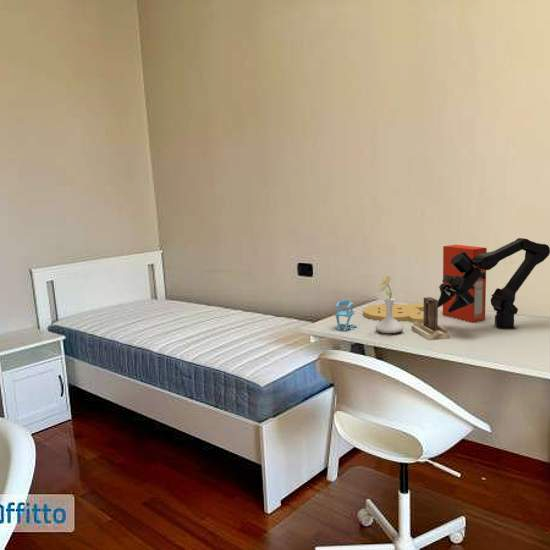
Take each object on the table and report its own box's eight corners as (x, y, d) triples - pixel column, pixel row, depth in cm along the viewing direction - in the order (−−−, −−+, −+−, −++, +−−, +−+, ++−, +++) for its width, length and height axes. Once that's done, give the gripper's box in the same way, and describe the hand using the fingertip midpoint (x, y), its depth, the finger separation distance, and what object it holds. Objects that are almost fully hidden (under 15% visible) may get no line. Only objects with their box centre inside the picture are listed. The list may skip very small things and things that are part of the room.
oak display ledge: (431, 328, 221) (431, 320, 220) (450, 337, 206) (450, 329, 206) (411, 330, 219) (411, 322, 219) (428, 340, 205) (428, 331, 204)
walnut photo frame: (430, 327, 216) (430, 297, 213) (437, 330, 210) (437, 300, 208) (423, 327, 215) (423, 297, 213) (430, 331, 209) (430, 300, 207)
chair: (332, 330, 224) (332, 303, 221) (339, 325, 231) (339, 298, 229) (350, 332, 220) (349, 304, 218) (356, 327, 227) (356, 300, 225)
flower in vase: (376, 327, 225) (376, 269, 221) (403, 328, 222) (404, 270, 218) (373, 336, 213) (373, 275, 209) (402, 337, 210) (402, 275, 206)
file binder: (471, 323, 227) (473, 249, 221) (442, 315, 242) (443, 245, 237) (485, 320, 230) (487, 247, 225) (455, 312, 245) (456, 244, 240)
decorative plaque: (361, 324, 234) (431, 325, 228) (361, 318, 233) (431, 319, 227) (364, 307, 264) (426, 308, 258) (364, 302, 263) (426, 303, 257)
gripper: (443, 264, 219) (418, 292, 219) (468, 270, 201) (441, 301, 201) (460, 281, 222) (436, 309, 222) (486, 289, 204) (460, 319, 204)
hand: (442, 309), depth 212 cm, fingers open, 9 cm apart
